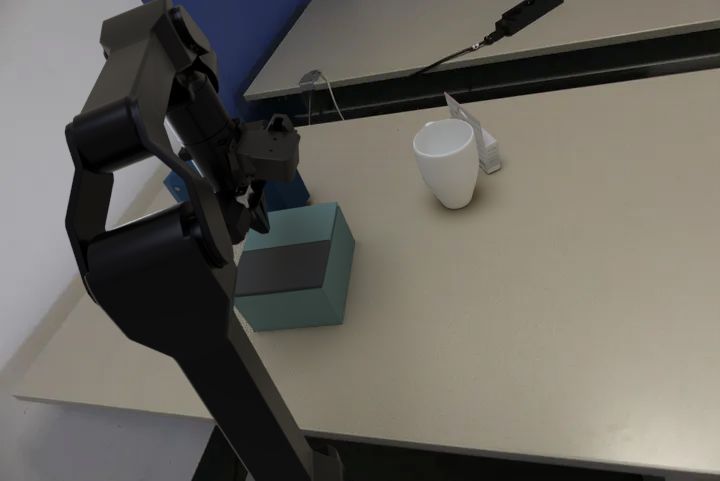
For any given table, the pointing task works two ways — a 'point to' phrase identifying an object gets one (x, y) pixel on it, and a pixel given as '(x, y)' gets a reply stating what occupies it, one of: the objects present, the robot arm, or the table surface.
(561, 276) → the table surface
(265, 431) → the robot arm
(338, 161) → the table surface
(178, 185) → the radio
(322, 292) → the teal storage bin
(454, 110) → the ink cartridge box
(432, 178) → the mug
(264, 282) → the hatch
